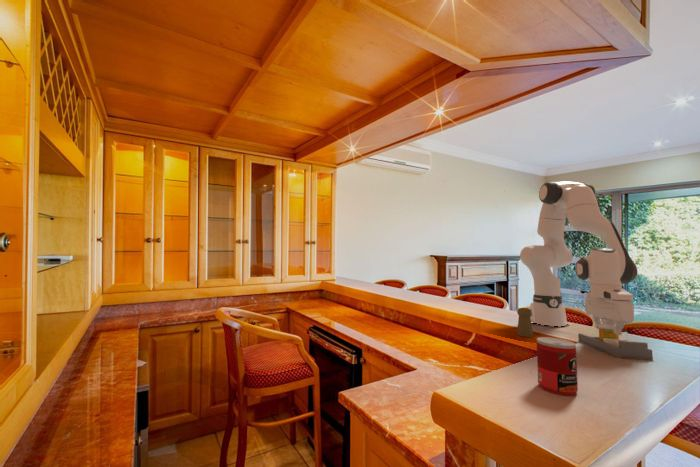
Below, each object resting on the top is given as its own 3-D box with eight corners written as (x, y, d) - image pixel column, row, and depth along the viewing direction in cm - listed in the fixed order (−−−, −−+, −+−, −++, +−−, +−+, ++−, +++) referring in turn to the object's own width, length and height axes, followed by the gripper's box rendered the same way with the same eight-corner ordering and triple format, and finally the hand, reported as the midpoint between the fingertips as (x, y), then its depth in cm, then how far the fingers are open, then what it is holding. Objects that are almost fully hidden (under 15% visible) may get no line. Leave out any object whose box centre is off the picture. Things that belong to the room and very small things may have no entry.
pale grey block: (604, 347, 107) (603, 338, 107) (625, 348, 106) (624, 339, 106) (611, 350, 103) (610, 340, 104) (632, 351, 103) (632, 341, 103)
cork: (514, 335, 127) (514, 308, 128) (519, 332, 131) (518, 306, 132) (531, 337, 123) (530, 309, 124) (535, 335, 127) (534, 308, 128)
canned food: (564, 398, 67) (562, 346, 68) (530, 385, 74) (528, 338, 75) (586, 393, 70) (583, 343, 71) (551, 380, 77) (549, 336, 78)
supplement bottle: (601, 347, 108) (600, 319, 109) (597, 343, 113) (596, 316, 114) (621, 349, 105) (619, 320, 106) (616, 346, 110) (615, 318, 111)
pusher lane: (578, 341, 119) (578, 327, 119) (606, 342, 117) (606, 329, 118) (617, 357, 98) (617, 341, 98) (652, 359, 97) (651, 343, 97)
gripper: (579, 289, 121) (580, 325, 120) (616, 295, 101) (618, 338, 100) (596, 290, 121) (598, 325, 119) (637, 295, 100) (640, 339, 99)
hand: (607, 331), depth 110 cm, fingers open, 8 cm apart
